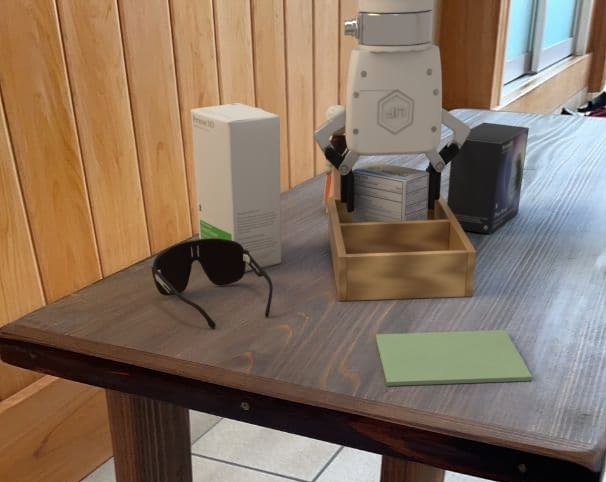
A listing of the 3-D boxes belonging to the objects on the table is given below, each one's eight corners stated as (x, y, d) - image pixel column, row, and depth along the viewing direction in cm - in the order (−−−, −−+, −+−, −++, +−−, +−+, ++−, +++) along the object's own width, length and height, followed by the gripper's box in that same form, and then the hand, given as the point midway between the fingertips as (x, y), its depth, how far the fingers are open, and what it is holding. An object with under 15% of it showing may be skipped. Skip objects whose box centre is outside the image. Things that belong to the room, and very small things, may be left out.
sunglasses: (241, 276, 93) (240, 231, 89) (290, 325, 85) (291, 278, 82) (149, 294, 89) (144, 247, 86) (191, 347, 81) (188, 299, 78)
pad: (505, 333, 78) (505, 329, 78) (531, 381, 70) (532, 376, 70) (375, 338, 78) (375, 334, 78) (386, 386, 70) (387, 381, 70)
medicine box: (427, 250, 99) (431, 171, 94) (402, 260, 96) (405, 178, 91) (375, 237, 103) (377, 161, 98) (350, 246, 101) (351, 168, 96)
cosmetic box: (199, 256, 99) (185, 108, 90) (247, 245, 102) (238, 101, 93) (237, 275, 93) (226, 119, 84) (287, 263, 96) (281, 111, 87)
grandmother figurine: (330, 202, 117) (329, 100, 109) (358, 204, 116) (359, 100, 108) (316, 218, 111) (314, 110, 103) (344, 220, 110) (344, 111, 102)
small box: (493, 236, 103) (503, 141, 96) (442, 229, 105) (449, 137, 99) (521, 213, 110) (532, 124, 104) (473, 208, 113) (481, 121, 106)
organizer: (438, 231, 104) (441, 193, 102) (472, 296, 86) (476, 251, 84) (328, 235, 104) (327, 197, 102) (338, 301, 86) (338, 256, 84)
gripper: (311, 38, 84) (314, 220, 94) (487, 32, 84) (471, 214, 94) (308, 31, 90) (312, 202, 100) (472, 25, 90) (459, 196, 100)
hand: (389, 207), depth 97 cm, fingers closed on medicine box, 8 cm apart
